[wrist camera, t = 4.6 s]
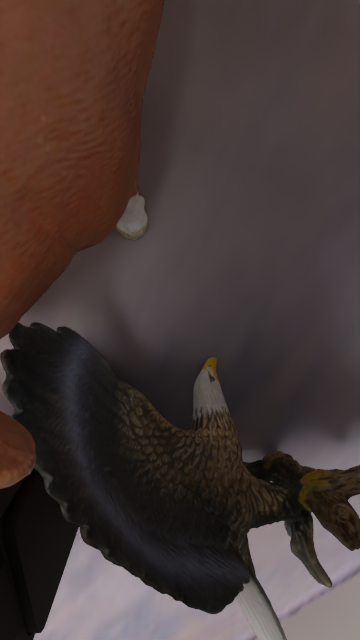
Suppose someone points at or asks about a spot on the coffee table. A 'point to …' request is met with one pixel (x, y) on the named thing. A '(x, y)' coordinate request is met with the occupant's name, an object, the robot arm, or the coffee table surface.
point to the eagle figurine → (166, 477)
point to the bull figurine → (65, 150)
